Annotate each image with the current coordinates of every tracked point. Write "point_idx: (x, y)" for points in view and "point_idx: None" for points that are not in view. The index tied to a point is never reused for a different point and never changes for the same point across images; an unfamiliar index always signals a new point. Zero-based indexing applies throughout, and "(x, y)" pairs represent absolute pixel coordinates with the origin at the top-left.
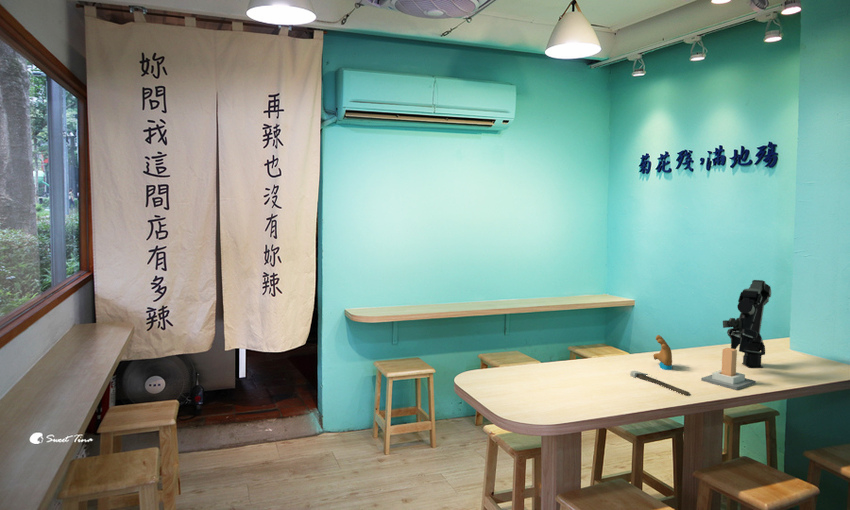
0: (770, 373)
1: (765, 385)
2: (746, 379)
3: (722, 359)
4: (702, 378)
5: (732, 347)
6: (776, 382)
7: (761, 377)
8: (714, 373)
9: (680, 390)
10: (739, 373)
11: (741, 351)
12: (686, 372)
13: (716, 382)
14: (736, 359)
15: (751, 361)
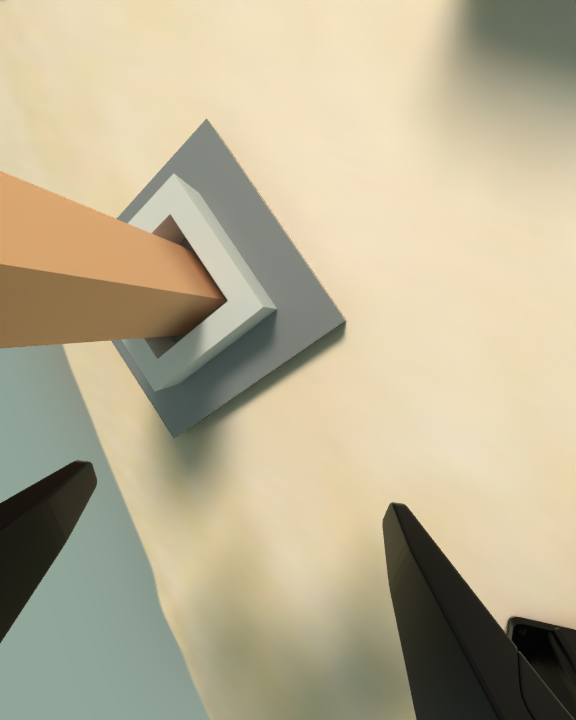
0: (370, 644)
1: (161, 463)
2: (193, 402)
3: (56, 198)
4: (202, 126)
5: (407, 560)
6: (209, 549)
7: (290, 537)
8: (163, 185)
9: None
10: (170, 367)
11: (80, 485)
12: (410, 66)
13: (140, 196)
14: (48, 342)
15: (554, 694)
